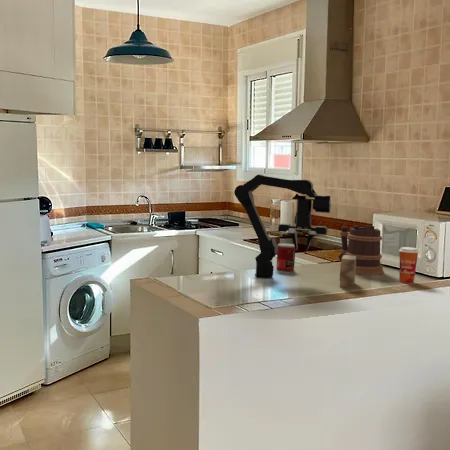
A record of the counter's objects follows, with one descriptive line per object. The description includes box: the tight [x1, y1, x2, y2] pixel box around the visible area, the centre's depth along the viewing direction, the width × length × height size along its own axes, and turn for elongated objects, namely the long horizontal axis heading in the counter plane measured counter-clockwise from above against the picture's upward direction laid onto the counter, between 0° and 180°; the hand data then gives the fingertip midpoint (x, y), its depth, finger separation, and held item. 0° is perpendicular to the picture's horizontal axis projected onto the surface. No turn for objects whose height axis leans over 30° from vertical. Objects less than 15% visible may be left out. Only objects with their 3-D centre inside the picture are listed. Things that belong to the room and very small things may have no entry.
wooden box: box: [339, 255, 356, 289], centre depth 228 cm, size 5×10×11 cm, turn 164°
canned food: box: [275, 242, 296, 272], centre depth 256 cm, size 8×8×11 cm
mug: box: [337, 225, 385, 276], centre depth 262 cm, size 18×23×20 cm
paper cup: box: [398, 246, 420, 284], centre depth 239 cm, size 8×8×14 cm
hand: (301, 250), depth 233 cm, fingers open, 4 cm apart
